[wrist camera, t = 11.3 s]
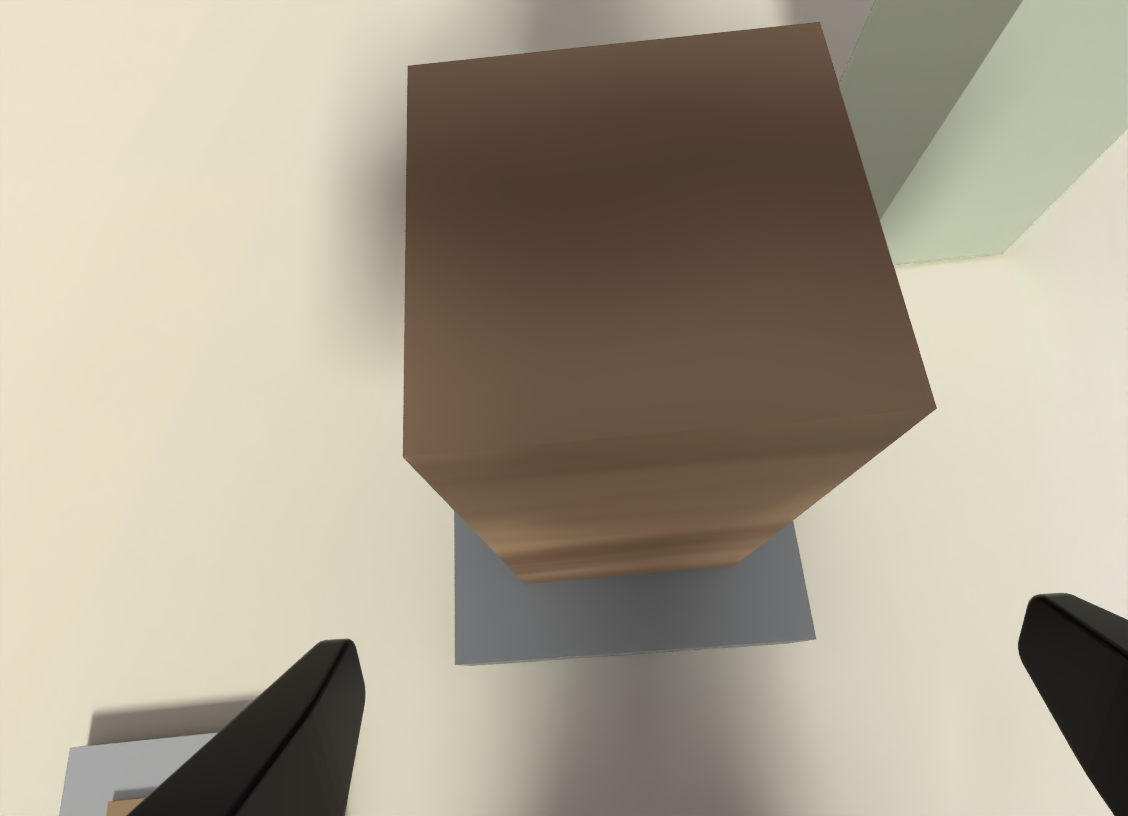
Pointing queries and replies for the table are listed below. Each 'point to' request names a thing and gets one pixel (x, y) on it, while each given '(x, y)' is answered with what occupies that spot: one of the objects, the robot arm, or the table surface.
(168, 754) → the tile
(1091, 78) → the sage pillar
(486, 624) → the slate block
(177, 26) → the table surface
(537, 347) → the walnut pillar
